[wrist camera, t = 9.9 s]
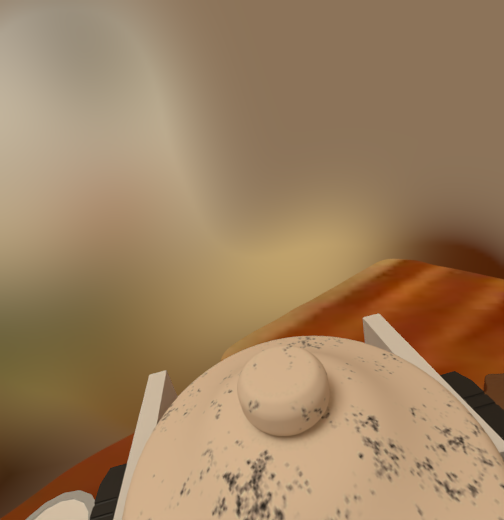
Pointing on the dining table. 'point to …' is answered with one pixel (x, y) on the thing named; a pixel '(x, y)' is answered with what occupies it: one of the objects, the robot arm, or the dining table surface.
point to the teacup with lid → (317, 442)
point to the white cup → (66, 507)
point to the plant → (495, 388)
